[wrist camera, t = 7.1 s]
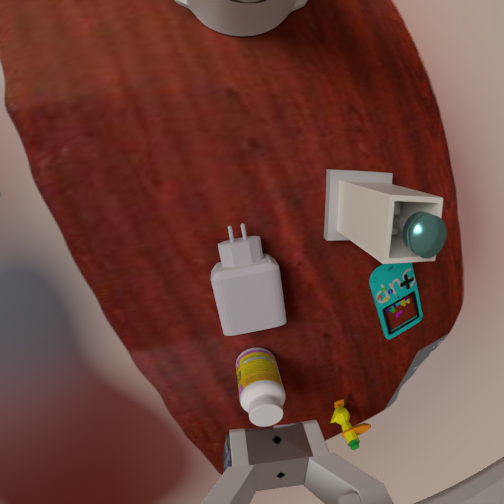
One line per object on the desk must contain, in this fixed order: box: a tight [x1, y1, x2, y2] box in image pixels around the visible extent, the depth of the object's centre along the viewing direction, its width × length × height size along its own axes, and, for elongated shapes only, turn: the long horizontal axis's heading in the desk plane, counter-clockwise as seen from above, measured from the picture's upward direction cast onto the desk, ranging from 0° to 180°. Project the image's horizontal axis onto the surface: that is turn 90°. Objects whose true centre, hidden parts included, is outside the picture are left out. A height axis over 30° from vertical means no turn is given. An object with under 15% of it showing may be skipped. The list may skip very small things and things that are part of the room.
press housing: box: [324, 169, 443, 264], centre depth 38 cm, size 10×10×16 cm
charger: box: [211, 224, 287, 336], centre depth 45 cm, size 5×9×15 cm
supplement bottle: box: [236, 347, 285, 426], centre depth 46 cm, size 7×7×13 cm
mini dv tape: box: [222, 434, 232, 472], centre depth 55 cm, size 8×2×6 cm, turn 171°
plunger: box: [391, 201, 446, 259], centre depth 34 cm, size 5×5×12 cm
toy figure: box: [330, 399, 371, 450], centre depth 52 cm, size 7×4×12 cm, turn 103°
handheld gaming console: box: [369, 262, 423, 339], centre depth 51 cm, size 8×1×15 cm
